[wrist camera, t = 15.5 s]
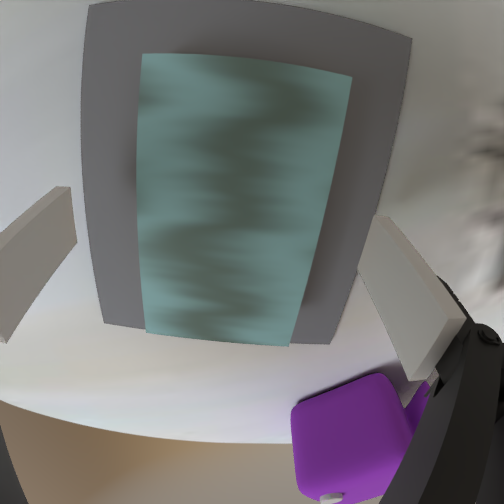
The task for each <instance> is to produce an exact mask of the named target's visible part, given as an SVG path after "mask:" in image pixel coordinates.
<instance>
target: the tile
mask: <svg viewBox="0 0 504 504" xmlns="http://www.w3.org/2000/svg"><path fill="white" fill-rule="evenodd" d="M351 83H352V77H350V76H346V75H342V74H337V73H333V72H329V71H324V70H319V69H314V68H309V67H304V66H298V65H292V64H286V63H280V62H273V61H266V60H258V59H250V58H241V57H230V56H218V55H202V54H172V53H152V54H142V64H141V75H140V87H139V102H138V122H137V156H136V193H137V228H138V248H139V264H140V277H141V289H142V300H143V310H144V319H145V327H146V333H152V334H159V335H167V336H175V337H183V338H192V339H201V340H210V341H220V342H231V343H243V344H256V345H271V346H288V347H289V343H290V340H291V337H292V333H293V330H294V327H295V323H296V320H297V316H298V313H299V309H300V306H301V302H302V298H303V295H304V291H305V288H306V284H307V280H308V276H309V273H310V269H311V265H312V261H313V257H314V254H315V250H316V246H317V242H318V238H319V234H320V230H321V226H322V222H323V217H324V213H325V209H326V205H327V200H328V196H329V192H330V187H331V183H332V178H333V174H334V169H335V165H336V160H337V155H338V151H339V146H340V141H341V136H342V131H343V126H344V121H345V116H346V110H347V105H348V100H349V94H350V88H351Z"/></svg>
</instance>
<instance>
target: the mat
mask: <svg viewBox="0 0 504 504" xmlns="http://www.w3.org/2000/svg"><path fill="white" fill-rule="evenodd" d="M411 44H412V38H409V37H406V36H404V35H401V34H398V33H395V32H392V31H389V30H386V29H383V28H380V27H377V26H374V25H371V24H367V23H364V22H360V21H357V20H353V19H350V18H346V17H342V16H338V15H334V14H329V13H325V12H320V11H316V10H311V9H306V8H300V7H295V6H289V5H282V4H276V3H268V2H260V1H251V0H124V1H115V2H107V3H100V4H94V5H89V9H88V16H87V24H86V32H85V42H84V53H83V66H82V84H81V157H82V175H83V189H84V201H85V211H86V220H87V229H88V237H89V244H90V251H91V257H92V264H93V270H94V276H95V281H96V287H97V292H98V297H99V302H100V307H101V311H102V316H103V321H104V323H106V324H112V325H119V326H125V327H132V328H139V329H146V327H145V319H144V310H143V300H142V289H141V277H140V264H139V248H138V228H137V193H136V156H137V122H138V102H139V87H140V75H141V64H142V54H152V53H172V54H202V55H218V56H230V57H241V58H250V59H258V60H266V61H273V62H280V63H286V64H292V65H298V66H304V67H309V68H314V69H319V70H324V71H329V72H333V73H337V74H342V75H346V76H350V77H352V83H351V88H350V94H349V100H348V105H347V110H346V116H345V121H344V126H343V131H342V136H341V141H340V146H339V151H338V155H337V160H336V165H335V169H334V174H333V178H332V183H331V187H330V192H329V196H328V200H327V205H326V209H325V213H324V217H323V222H322V226H321V230H320V234H319V238H318V242H317V246H316V250H315V254H314V257H313V261H312V265H311V269H310V273H309V276H308V280H307V284H306V288H305V291H304V295H303V298H302V302H301V306H300V309H299V313H298V316H297V320H296V323H295V327H294V330H293V333H292V337H291V340H290V343H301V344H330V342H331V340H332V337H333V335H334V332H335V330H336V327H337V325H338V322H339V319H340V317H341V314H342V311H343V309H344V306H345V303H346V301H347V298H348V295H349V292H350V289H351V287H352V284H353V281H354V278H355V275H356V272H357V267H358V264H359V261H360V258H361V255H362V252H363V248H364V245H365V242H366V239H367V236H368V232H369V229H370V226H371V223H372V219H373V216H374V215H375V212H376V208H377V204H378V201H379V197H380V194H381V190H382V186H383V183H384V179H385V175H386V171H387V167H388V163H389V159H390V155H391V151H392V146H393V142H394V138H395V133H396V128H397V124H398V119H399V114H400V109H401V104H402V99H403V94H404V88H405V83H406V77H407V71H408V64H409V58H410V51H411Z"/></svg>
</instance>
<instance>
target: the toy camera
mask: <svg viewBox="0 0 504 504" xmlns="http://www.w3.org/2000/svg"><path fill="white" fill-rule="evenodd" d="M429 388H430V386H429V385H428V383H427V382H426V381H424V382H423V383H422V384H421V386H420V387H419V388H418V390H417V392H416V393H415V395H414V396H413V398H412V400H411V401H410V403H409V404H408V405H407V407H406V408H403V406H402V403H401V401H400V399H399V397H398V395H397V393H396V391H395V389H394V387H393V385H392V383H391V382H390V380H389V379H388V378H387V377H386V376H385V375H383V374H381V373H374V374H370V375H368V376H365V377H363V378H360V379H358V380H355V381H353V382H351V383H348V384H346V385H343V386H341V387H339V388H336V389H334V390H331V391H329V392H326V393H323V394H321V395H318V396H316V397H313V398H311V399H308V400H306V401H303V402H301V403H299V404H297V405H296V406H295V407H294V408H293V409H292V411H291V433H292V443H293V453H294V463H295V472H296V480H297V485H298V488H299V490H300V491H301V493H302V494H304V495H306V496H307V497H309V498H311V499H314V500H317V501H320V503H321V504H354V503H358V502H361V501H364V500H368V499H371V498H374V497H377V496H380V495H383V494H385V492H386V490H387V488H388V486H389V484H390V483H391V481H392V479H393V477H394V475H395V473H396V471H397V469H398V467H399V465H400V463H401V461H402V459H403V457H404V455H405V453H406V451H407V449H408V446H409V444H410V442H411V440H412V438H413V435H414V433H415V431H416V428H417V426H418V424H419V421H420V419H421V416H422V414H423V411H424V409H425V406H426V403H427V401H428V398H429V395H430V394H429V395H428V396H427V397H424V395H425V393H426V392H427V391H428V390H429Z"/></svg>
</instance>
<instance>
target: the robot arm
mask: <svg viewBox="0 0 504 504" xmlns="http://www.w3.org/2000/svg"><path fill="white" fill-rule="evenodd" d="M76 243H77V237H76V230H75V223H74V216H73V207H72V198H71V188H70V187H59V186H56V187H55V188H54V189H52V190H51V191H50V192H48V193H47V194H46V195H45V196H43V197H42V198H41V199H40V200H38V201H37V202H36V203H35V204H34V205H32V206H31V207H30V208H29V209H28V210H26V211H25V212H24V213H23V214H22V215H20V216H19V217H18V218H17V219H16V220H15V221H14V222H12V223H11V224H10V225H9V226H8V227H7V228H6V229H5V230H3V231H2V232H1V233H0V342H2V343H6V344H7V342H8V340H9V339H10V337H11V335H12V334H13V332H14V331H15V329H16V327H17V326H18V324H19V323H20V321H21V320H22V318H23V317H24V315H25V313H26V312H27V310H28V309H29V307H30V306H31V305H32V303H33V302H34V300H35V299H36V297H37V296H38V294H39V293H40V291H41V290H42V289H43V287H44V286H45V284H46V283H47V282H48V280H49V279H50V277H51V276H52V275H53V273H54V272H55V271H56V269H57V268H58V267H59V265H60V264H61V263H62V261H63V260H64V259H65V257H66V256H67V255H68V254H69V252H70V251H71V250H72V248H73V247H74V246H75V245H76ZM357 269H358V271H359V273H360V275H361V277H362V279H363V281H364V283H365V285H366V287H367V289H368V291H369V293H370V295H371V297H372V300H373V302H374V304H375V306H376V308H377V310H378V312H379V314H380V317H381V319H382V321H383V323H384V325H385V328H386V330H387V332H388V334H389V336H390V339H391V341H392V343H393V345H394V348H395V350H396V352H397V355H398V357H399V359H400V362H401V364H402V366H403V369H404V371H405V374H406V376H407V379H408V381H417V380H426V379H427V378H428V377H429V375H430V374H431V373H432V371H433V370H434V368H435V367H436V369H437V372H438V374H439V376H438V378H437V379H436V380H435V382H434V383H433V384H432V386H431V387H430V388H429V390H428V391H427V392H426V393H425V395H424V397H427V396H428V395H429V394H430V395H429V398H428V401H427V403H426V406H425V409H424V411H423V414H422V416H421V419H420V421H419V424H418V426H417V428H416V431H415V433H414V435H413V438H412V440H411V442H410V444H409V446H408V449H407V451H406V453H405V455H404V457H403V459H402V461H401V463H400V465H399V467H398V469H397V471H396V473H395V475H394V477H393V479H392V481H391V483H390V484H389V486H388V488H387V490H386V492H385V494H384V495H383V497H382V499H381V501H380V502H379V504H475V502H476V504H504V343H502V341H501V339H500V337H499V335H498V334H497V333H496V332H495V331H494V330H493V329H492V328H490V327H489V326H487V325H484V324H478V323H477V324H475V322H474V321H473V319H472V318H471V317H470V315H469V314H468V312H467V311H466V309H465V308H464V306H463V305H462V304H461V302H459V301H458V300H459V299H458V298H457V297H456V295H455V294H453V291H452V290H451V289H450V287H449V286H448V285H447V283H445V282H444V281H443V280H442V279H441V278H439V277H438V276H436V275H435V273H434V272H433V271H432V269H431V268H430V267H429V265H428V264H427V263H426V262H425V260H424V259H423V258H422V256H421V255H420V254H419V253H418V251H417V250H416V249H415V248H414V246H413V245H412V244H411V243H410V242H409V240H408V239H407V238H406V237H405V235H404V234H403V233H402V232H401V231H400V229H399V228H398V227H397V226H396V225H395V224H394V222H393V221H392V220H391V219H390V218H389V217H385V216H379V215H374V216H373V219H372V223H371V226H370V229H369V232H368V236H367V239H366V242H365V245H364V248H363V252H362V255H361V258H360V261H359V264H358V267H357ZM0 504H28V502H27V499H26V497H25V495H24V492H23V490H22V488H21V485H20V483H19V480H18V478H17V475H16V472H15V470H14V467H13V464H12V461H11V459H10V456H9V453H8V450H7V446H6V443H5V440H4V437H3V433H2V430H1V426H0Z"/></svg>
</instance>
